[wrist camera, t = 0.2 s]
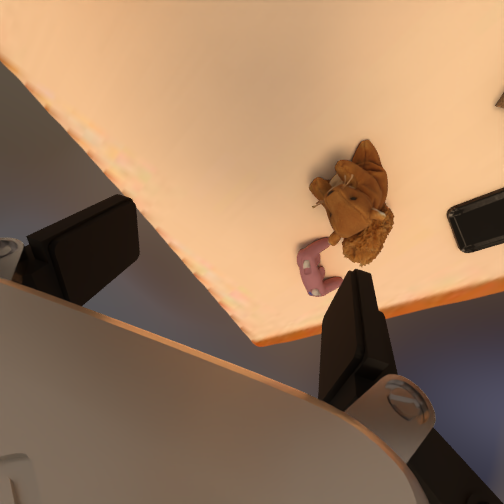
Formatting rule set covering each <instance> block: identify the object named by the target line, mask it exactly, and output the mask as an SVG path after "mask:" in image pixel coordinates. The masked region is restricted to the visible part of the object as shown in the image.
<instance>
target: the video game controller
mask: <svg viewBox="0 0 504 504" xmlns="http://www.w3.org/2000/svg"><path fill="white" fill-rule="evenodd" d="M328 239H329V238H323V239H320V240H317V241H315V242H313V243H312V244H310V245H309V246H307V247H306V248H305V249H301V250H300V251H299V253H298V255H297V264H298V266H299V268H300V274H301V278H302V281H303V284H304V286H305V288H306V289H307V292H308V294H309V295H310V296H315V297H320V296H324V295H326V294H328V293H329V292H331V291H333V290H335V289H336V288H338V287H340V285H341V283H342V282H343V279H342V278H340V277H334V278H330V279H327V280H324V281H323V278H324V276H325V270H324V268H323V267H317V265H318V264H319V263H320V254H319V253H320V252H322V251H323V250H325V249H326V248H328V247H329V246H330V244H329V243H328Z"/></svg>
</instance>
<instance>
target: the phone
mask: <svg viewBox="0 0 504 504" xmlns="http://www.w3.org/2000/svg"><path fill="white" fill-rule="evenodd" d="M447 217H448V220H449V223H450V226H451V229H452V231H453V234H454V237H455V240H456V243H457V245H458V247H459V249H460V250H461V251H462V252H464V253H471V252H475V251H478V250H482V249H485V248H489V247H492V246H495V245H499V244H502V243H504V188H501V189H498V190H496V191H493V192H490V193H488V194H485V195H482V196H480V197H477V198H474V199H472V200H469V201H466V202H464V203H461V204H458V205H456V206H453V207H451V208H450V209H449V210H448V212H447Z"/></svg>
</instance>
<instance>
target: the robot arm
mask: <svg viewBox="0 0 504 504" xmlns="http://www.w3.org/2000/svg"><path fill="white" fill-rule="evenodd" d="M137 227H138V226H137V214H136V205H135V203H134V202H133V200H132V199H131V198H129V197H126V196H122V195H118V194H117V195H114V196H112V197H109V198H107V199H105V200H103V201H101V202H99V203H97V204H95V205H92V206H90V207H88V208H86V209H84V210H82V211H80V212H77V213H76V214H73V215H71V216H69V217H67V218H65V219H62V220H60V221H58V222H56V223H54V224H52V225H50V226H47V227H45V228H43V229H41V230H39V231H37V232H35V233H33V234H30V235H28V236H27V239H28V241H29V245H27V246H24V244H23V243H22V242H21V241H20V240H17V239H13V238H0V504H503V503H502V502H501V501H500V499H499V498H498V497H497V496H496V495H495V494H494V493H493V492H492V491H491V490H490V489H489V488H488V486H487V485H486V484H485V483H484V482H483V481H482V480H481V479H480V478H479V477H478V476H477V474H476V473H475V472H474V471H473V470H472V469H471V468H470V467H469V466H468V465H467V464H466V462H465V461H464V460H463V459H462V458H461V457H460V456H459V455H458V454H457V453H456V452H455V451H454V449H452V447H451V446H450V445H449V444H448V443H447V442H446V441H445V440H444V439H443V438H442V436H441V435H440V434H439V433H438V432H437V431H436V430H435V429H434V428H433V426H434V423H435V412H434V409H433V407H432V404H431V402H430V401H429V399H428V398H427V396H426V395H425V393H424V392H423V391H422V390H421V389H420V388H419V387H418V386H417V385H415V384H414V383H413V382H412V381H410V380H408V379H406V378H405V377H402V376H399V375H398V374H397V369H396V365H395V360H394V356H393V351H392V347H391V342H390V338H389V333H388V329H387V324H386V320H385V316H384V314H383V313H382V312H380V311H378V306H377V301H376V296H375V291H374V286H373V281H372V276H371V274H370V273H368V272H365V271H362V270H358V269H355V270H354V271H348V272H347V274H346V276H345V278H344V280H343V282H342V283H341V285H340V287H339V289H338V291H337V293H336V295H335V297H334V299H333V300H332V302H331V304H330V306H329V308H328V310H327V312H326V314H325V316H324V318H323V322H322V338H321V355H320V374H319V393H318V399H317V398H315V397H313V396H311V395H309V394H306V393H304V392H302V391H299V390H297V389H295V388H292V387H289V386H287V385H284V384H282V383H280V382H277V381H275V380H272V379H270V378H267V377H265V376H262V375H260V374H257V373H255V372H252V371H250V370H247V369H244V368H242V367H239V366H237V365H234V364H232V363H229V362H226V361H224V360H221V359H219V358H216V357H213V356H211V355H208V354H206V353H203V352H201V351H198V350H195V349H193V348H190V347H188V346H185V345H182V344H180V343H177V342H174V341H172V340H169V339H167V338H164V337H161V336H159V335H156V334H153V333H151V332H148V331H146V330H143V329H140V328H137V327H135V326H132V325H129V324H127V323H124V322H122V321H119V320H116V319H114V318H111V317H108V316H106V315H103V314H100V313H97V312H95V311H92V310H90V309H87V308H84V307H82V306H83V305H84V304H85V303H86V302H87V301H89V300H90V299H91V298H92V297H93V296H94V295H96V294H97V293H98V292H99V291H100V290H101V289H103V288H104V287H105V286H106V285H107V284H109V283H110V282H111V281H112V280H113V279H115V278H116V277H117V276H118V275H119V274H120V273H122V272H123V271H124V270H125V269H126V268H127V267H129V266H130V265H131V264H132V263H133V262H135V261H136V260H137V259H138V256H139V252H140V251H139V239H138V228H137Z"/></svg>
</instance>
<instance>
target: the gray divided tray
mask: <svg viewBox="0 0 504 504" xmlns="http://www.w3.org/2000/svg"><path fill="white" fill-rule="evenodd" d="M496 106H498V107H502V108H504V93H503V95H502V96H501V98H500V99H499V101H498V103H497V104H496Z"/></svg>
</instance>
